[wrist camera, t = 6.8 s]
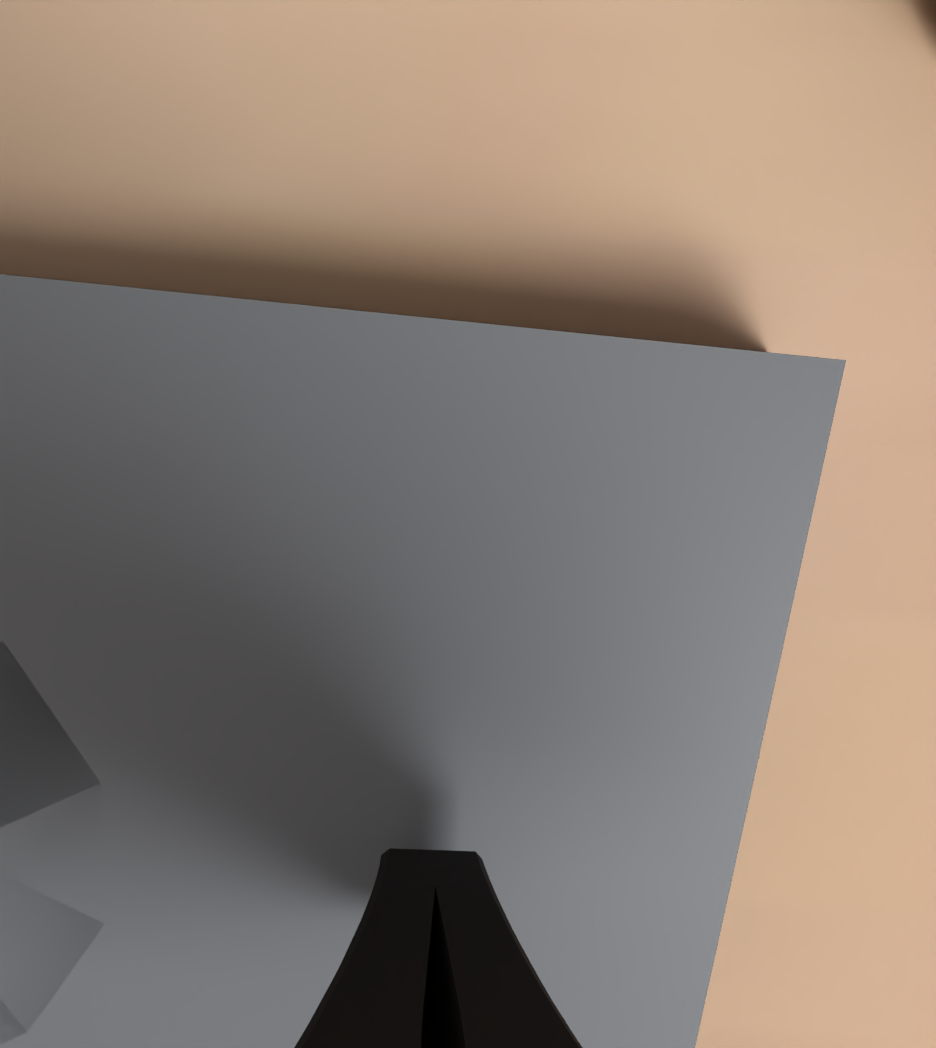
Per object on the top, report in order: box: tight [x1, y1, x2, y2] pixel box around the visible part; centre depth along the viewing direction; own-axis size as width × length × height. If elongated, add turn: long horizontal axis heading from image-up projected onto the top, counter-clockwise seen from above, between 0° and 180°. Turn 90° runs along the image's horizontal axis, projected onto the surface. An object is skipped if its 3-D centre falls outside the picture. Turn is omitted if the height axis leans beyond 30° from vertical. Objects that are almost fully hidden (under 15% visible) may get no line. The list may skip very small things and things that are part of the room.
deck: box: [0, 274, 846, 1048], centre depth 12 cm, size 16×19×2 cm
